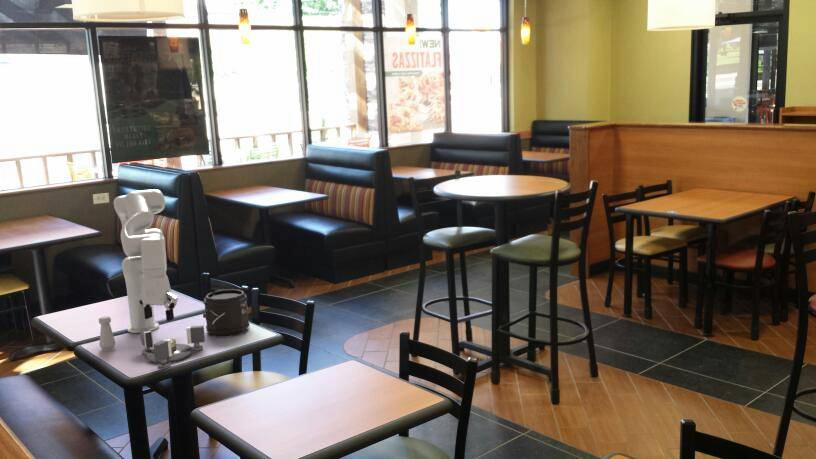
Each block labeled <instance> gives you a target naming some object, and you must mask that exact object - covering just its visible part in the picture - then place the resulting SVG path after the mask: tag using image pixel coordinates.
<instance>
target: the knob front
mask: <svg viewBox="0 0 816 459" xmlns="http://www.w3.org/2000/svg"><path fill="white" fill-rule="evenodd" d="M153 349H154V355H155V361H161V363H162V364H164V363H167V358H168V357H171V356H172V351H171V341H170V340H169V339H167V338H163V339H162V340H160V341H158V342H156V343H153Z"/></svg>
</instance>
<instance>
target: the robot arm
mask: <svg viewBox="0 0 816 459" xmlns="http://www.w3.org/2000/svg"><path fill="white" fill-rule="evenodd" d="M113 207H114V210H115V213H116V214H117V216H118V217H119V218H118V219H120V222H121V230H120V240H121V245H122V249H123V253H124V254H125V255H126V257H125V258H124V259H123V260H122V262H121V268H122V272H123V277H124V280H125V286H126V294H127V295H126V296H127V302H128V311H129V312H128V313H129V319H130V325H129V326H128V327H127V332H128V333H132V334H140V329H144V328H147V329H148V330H150V331H151V332H152V331H155V330H157V329H159V327H160V324H159V323H158V322H157V321H155V312H154V306H164V308H165V309H166V310H165V318H166V319H165V320H166V322H170V321H172V320H174V319H175V315H174V309H175V307H176V305H177V303H178V300H179V299H178V296H177V295H175V294H173V293H172V290H171V285H170V281H169V277H168V275H167V266H168V265H167V252H166V240H165V236H164V232H163V230H162V229H160V228H149V227H151V226H152V225H153V222H154V215H155V214H160V213H161V212H162V211H164V209H165V208H166V200H165V196H164V194H163V192H162V191H161V190H160V189H156V188H154V189H143V190H133V191H130V192H128V193H127V194H125V195H119V196H116V197H115V198H114V200H113Z"/></svg>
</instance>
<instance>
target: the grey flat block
mask: <svg viewBox="0 0 816 459" xmlns="http://www.w3.org/2000/svg"><path fill="white" fill-rule="evenodd" d="M139 335H140V343H141V345H142V346H143V347H144V350H145V351H149V350H150V349H152V348H154V345H153V344H154V341H153V333H152V331H150V330H148V329H147V328H144V329H140V333H139Z"/></svg>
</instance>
